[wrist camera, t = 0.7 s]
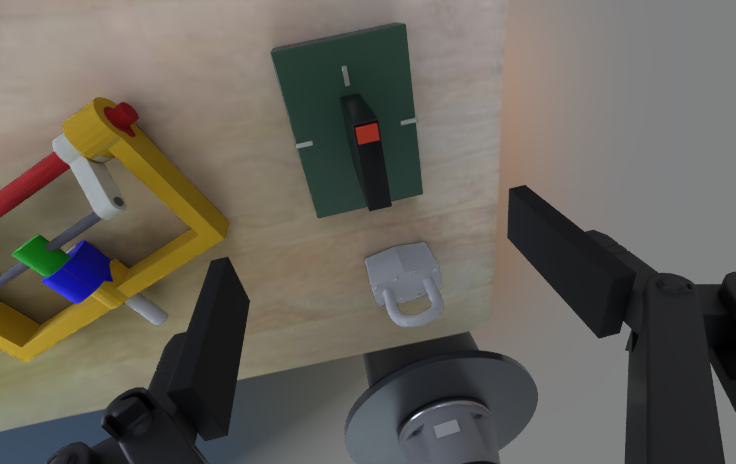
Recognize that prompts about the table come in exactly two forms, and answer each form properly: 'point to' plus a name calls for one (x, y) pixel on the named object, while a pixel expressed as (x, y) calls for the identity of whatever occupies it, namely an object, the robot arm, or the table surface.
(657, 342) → the robot arm
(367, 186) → the black bar red tab
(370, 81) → the green rectangular block
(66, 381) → the table surface
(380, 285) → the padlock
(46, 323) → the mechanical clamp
